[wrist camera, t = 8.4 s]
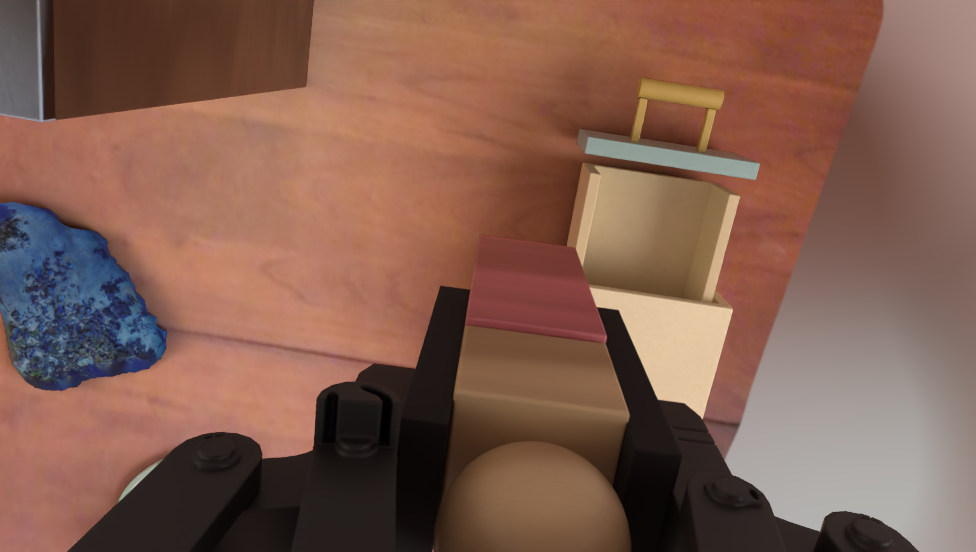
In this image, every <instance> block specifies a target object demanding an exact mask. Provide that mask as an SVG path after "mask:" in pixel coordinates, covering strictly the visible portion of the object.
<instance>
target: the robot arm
mask: <svg viewBox="0 0 976 552" xmlns="http://www.w3.org/2000/svg"><path fill="white" fill-rule="evenodd" d="M469 295H470V290H468V289H460V288H453V287H445V286H440V289H439V293H438V296H437V299H436V303H435V306H434V309H433V313H432V316H431V319H430V323H429V326H428V330H427V333H426V336H425V340H424V343H423V346H422V350H421V353H420V356H419V360H418V363H417V366H416V369H412V368H405V367H397V366H390V365H382V364H375V363H374V364H373V365H371V366H370V367H368V368H367V369H365V370H363V371H362V372H360V373H359V375H358V377H357V379H356V381H355V382H343V383H339V384H335V385H332V386H330V387H328V388H326V389H324V390H323V391H321V393H320V394H319V396H318V397H317V402H316V419H315V435H314V446H313V450H312V451H310V452H307V453H304V454H300V455H297V456H289V457H281V458H266V459H262V451H261V448H260V445H259V444H258V443H257V442H255V441H254V440H253V439H251V438H250V437H247V436H244V435H241V434H237V433H225V432H215V433H208V434H203V435H200V436H197V437H194V438H191V439H188V440H186V441H185V442H183V443H182V444H180V445H179V446H177V447H176V448H174V449H173V450H172V451H171V452H170V453H169V454H168V455H167V456H166V457H165V458H164V459H163V460H162V461H161V462H160V463H159V464H158V465H157V466H156V467H155V468H154V469H153V470H152V471H151V472H150V473H149V474H147V475H146V476H145V477H144V478H143V479H142V480H141V481H140V482H139V483H138V484H137V485H136V486H135V487H134V488H133V489H132V490H131V491H130V492H129V493H128V494H127V495H126V496H125V497H124V498H123V499H121V500H120V501H119V502H118V503H117V504H116V505H115V506H114V507H113V508H112V509H111V510H110V511H109V512H108V513H107V514H106V515H105V516H104V517H103V518H102V519H101V520H100V521H99V522H98V523H97V524H95V525H94V526H93V527H92V528H91V529H90V530H89V531H88V532H87V533H86V534H85V535H84V536H83V537H82V538H81V539H80V540H79V541H78V542H77V543H76V544H75V545H74V546H73V547H72V548H71V549H69V550H68V551H67V552H432V550H433V544H434V528H435V523H436V519H437V515H438V509H439V502H440V494H441V487H442V479H443V471H444V464H445V456H446V448H447V441H448V433H449V426H450V418H451V410H452V403H453V395H454V388H455V382H456V376H457V370H458V364H459V358H460V352H461V346H462V340H463V333H464V328H465V320H466V314H467V308H468V302H469ZM597 309H598V312H599V315H600V318H601V321H602V324H603V326H604V329H605V332H606V335H607V341H606V346H607V349H608V352H609V355H610V358H611V361H612V364H613V367H614V370H615V373H616V376H617V379H618V382H619V385H620V387H621V390H622V393H623V396H624V399H625V402H626V405H627V408H628V411H629V415H630V417H629V421H628V423H627V424H626V429H625V433H624V438H623V442H622V447H621V451H620V456H619V460H618V465H617V469H616V474H615V478H614V483H613V489H614V490H615V492H616V493H617V495H618V497H619V499H620V501H621V503H622V506H623V508H624V511H625V514H626V517H627V520H628V525H629V531H630V537H631V552H919V551H918V550H917V549H916V548H915V547H914V546H913V545H912V544H911V543H910V542H909V541H908V540H907V539H905V538H904V537H903V536H902V535H901V534H900V533H898V532H897V531H896V530H894V529H892V528H891V527H889V526H887V525H885V524H884V523H883V522H882V521H880V520H877V519H875V518H873V517H872V518H870V517H869V516H867V515H864V514H857V513H852V512H847V511H844V512H843V511H842V512H832V513H830V514H829V515H827V516H826V517H825V518H824V521H823V524H822V527H821V530H820V532H819V531H816V530H813V529H810V528H806V527H804V526H800V525H797V524H794V523H791V522H788V521H786V520H783V519H780V518H778V517H775V516H774V514H773V512H772V509H771V506H770V503H769V502H768V500H767V499H766V497H765V496H764V494H763V493H762V492H761V491H759V490H758V489H757V488H755V486H753V485H752V484H750V483H748V482H746V481H744V480H743V479H740V478H739V477H736V476H733V475H732V474H731V472H730V470H729V468H728V467H727V465H726V463H725V461H724V459H723V457H722V455H721V453H720V451H719V450H718V448H717V446H716V445H714V443H715V442H714V440H713V438H712V437H711V435H710V434H709V433H708V429H707V427H706V425H705V424H704V422H703V420H702V418H701V416H699V415H698V414H697V413H696V412H695V411H693V410H692V409H691V408H690V407H689V406H687V405H686V404H685V403H680V402H673V401H665V400H658V399H657V396H656V394H655V392H654V390H653V387H652V385H651V383H650V380H649V378H648V376H647V374H646V371H645V369H644V367H643V364H642V362H641V360H640V358H639V355H638V353H637V351H636V348H635V346H634V344H633V342H632V339H631V337H630V335H629V332H628V330H627V328H626V326H625V323H624V321H623V319H622V316H621V314H620V312H619V310H615V309H608V308H601V307H597Z"/></svg>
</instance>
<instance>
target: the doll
mask: <svg viewBox="0 0 976 552" xmlns="http://www.w3.org/2000/svg"><path fill="white" fill-rule="evenodd" d="M606 341H607V335H606V332H605V329H604V326H603V324H602V321H601V318H600V315H599V312H598V309H597V307H596V304H595V301H594V298H593V295H592V293H591V290H590V287H589V284H588V281H587V279H586V276H585V273H584V270H583V267H582V264H581V262H580V259H579V256H578V253H577V250H576V248H575V247H568V246H561V245H554V244H546V243H539V242H532V241H524V240H517V239H510V238H503V237H495V236H488V235H480V236H479V241H478V247H477V253H476V259H475V265H474V271H473V277H472V283H471V289H470V295H469V302H468V308H467V314H466V320H465V328H464V333H463V340H462V346H461V352H460V358H459V364H458V370H457V376H456V382H455V388H454V395H453V403H452V410H451V418H450V426H449V433H448V441H447V448H446V456H445V464H444V471H443V479H442V487H441V494H440V502H439V509H438V515H437V519H436V523H435V528H434V544H433V550H434V552H631V537H630V531H629V525H628V520H627V517H626V514H625V511H624V508H623V506H622V503H621V501H620V499H619V497H618V495H617V493H616V492H615V490H614V489H613V483H614V478H615V474H616V469H617V465H618V460H619V456H620V451H621V447H622V442H623V438H624V433H625V429H626V424H627V423H628V421H629V417H630V415H629V411H628V408H627V405H626V402H625V399H624V396H623V393H622V390H621V387H620V385H619V382H618V379H617V376H616V373H615V370H614V367H613V364H612V361H611V358H610V355H609V352H608V349H607V346H606Z"/></svg>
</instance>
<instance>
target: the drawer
mask: <svg viewBox="0 0 976 552" xmlns="http://www.w3.org/2000/svg"><path fill="white" fill-rule="evenodd" d="M636 97H639V98H638V102H637V107H636V112H635V117H634V121H633V126H632V131H631V135H630V137H629V136H623V135H616V134H610V133H604V132H597V131H591V130H584V129H579V134H578V140H577V145H578V146H579V147H580V148H581V149H582V151H583V152H584V153H585V154H591V155H598V156H604V157H610V158H617V159H623V160H630V161H636V162H643V163H649V164H656V165H662V166H669V167H675V168H681V169H688V170H694V171H701V172H707V173H714V174H720V175H727V176H733V177H739V178H746V179H752V180H756V176H757V173H758V169H759V165H760V163H758V162H755V161H753V160H750V159H748V158H745V157H743V156H740V155H738V154H735V153H732V152H726V151H719V150H713V149H707V145H708V141H709V137H710V133H711V129H712V125H713V121H714V117H715V113H716V110H718V109H720V107H721V105H722V103H723V99H724V91H723V90H719V89H713V88H706V87H700V86H694V85H687V84H681V83H675V82H668V81H662V80H656V79H649V78H643V77H641V78H640V79H639V81H638V85H637V89H636ZM648 99H652V100H658V101H664V102H671V103H677V104H683V105H690V106H696V107H703V108H706V111H705V116H704V120H703V124H702V128H701V132H700V136H699V140H698V144H697V147H693V146H687V145H681V144H674V143H668V142H661V141H655V140H648V139H642V138H640V134H641V129H642V125H643V120H644V115H645V111H646V106H647V101H648ZM739 198H740V196H739V195H737V194H736V193H734V192H732V191H731V190H729V189H727V188H725V187H724V186H722V185H720V184H718V183H713V182H707V181H700V180H694V179H688V178H681V177H675V176H668V175H662V174H655V173H649V172H642V171H636V170H629V169H623V168H616V167H610V166H604V165H597V164H591V163H584V162H583V163H582V168H581V174H580V179H579V184H578V189H577V195H576V200H575V205H574V210H573V215H572V221H571V226H570V231H569V236H568V241H567V246H568V247H575V248H576V250H577V253H578V256H579V259H580V262H581V264H582V267H583V270H584V273H585V276H586V279H587V281H588V284H590V285H597V286H604V287H610V288H617V289H623V290H630V291H637V292H643V293H650V294H656V295H663V296H670V297H676V298H683V299H690V300H696V301H703V302H709V303H712V299H713V295H714V292H715V288H716V284H717V281H718V277H719V273H720V269H721V266H722V262H723V258H724V254H725V251H726V247H727V243H728V239H729V236H730V232H731V228H732V225H733V221H734V217H735V213H736V210H737V206H738V202H739Z"/></svg>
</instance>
